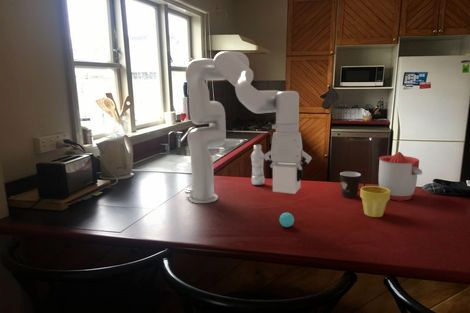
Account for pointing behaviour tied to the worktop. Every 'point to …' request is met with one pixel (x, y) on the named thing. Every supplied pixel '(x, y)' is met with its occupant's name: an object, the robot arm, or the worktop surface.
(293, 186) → the pale grey cube
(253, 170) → the plastic bottle
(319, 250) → the worktop surface
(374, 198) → the plant pot
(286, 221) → the ball
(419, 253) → the worktop surface
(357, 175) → the coffee mug
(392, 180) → the citrus juicer
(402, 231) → the worktop surface
